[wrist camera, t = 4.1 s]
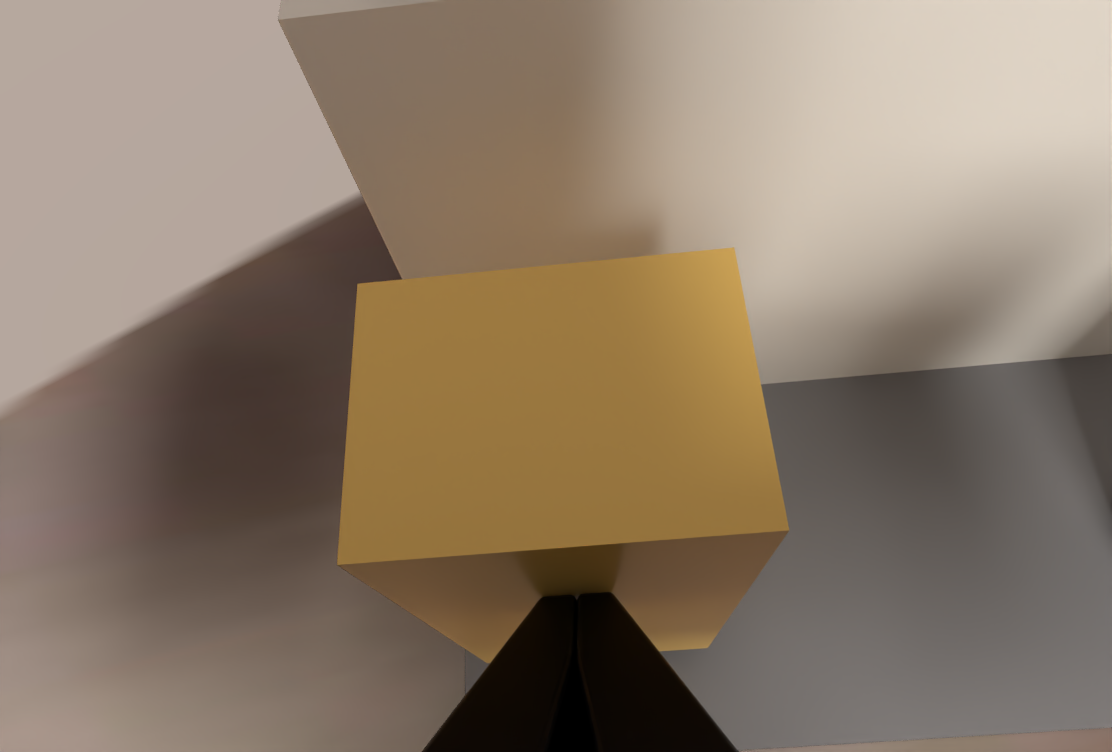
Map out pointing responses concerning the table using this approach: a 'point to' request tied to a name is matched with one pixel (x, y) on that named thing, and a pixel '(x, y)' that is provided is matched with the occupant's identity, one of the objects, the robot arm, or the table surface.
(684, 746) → the robot arm
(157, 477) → the table surface
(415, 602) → the amber block
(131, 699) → the table surface
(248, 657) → the table surface
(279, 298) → the table surface
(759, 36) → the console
